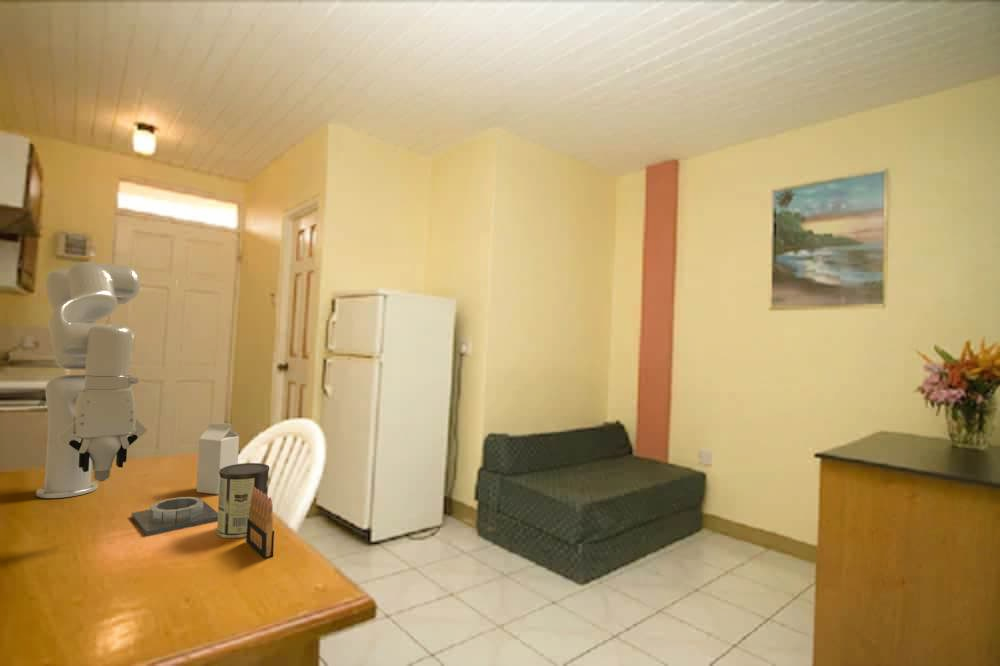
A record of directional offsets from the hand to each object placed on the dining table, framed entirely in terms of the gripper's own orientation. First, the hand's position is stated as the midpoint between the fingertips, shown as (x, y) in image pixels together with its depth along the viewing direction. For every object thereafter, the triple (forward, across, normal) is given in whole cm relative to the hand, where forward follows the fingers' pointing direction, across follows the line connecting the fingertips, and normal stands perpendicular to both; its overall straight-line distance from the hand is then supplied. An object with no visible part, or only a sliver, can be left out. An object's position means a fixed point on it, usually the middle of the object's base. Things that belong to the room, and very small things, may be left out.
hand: (102, 467), depth 105 cm
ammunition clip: (+15, -23, +27) cm, 38 cm away
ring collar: (+15, -15, -3) cm, 22 cm away
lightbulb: (+3, 0, 0) cm, 3 cm away
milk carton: (+16, -29, -20) cm, 39 cm away
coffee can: (+15, -24, +14) cm, 32 cm away
